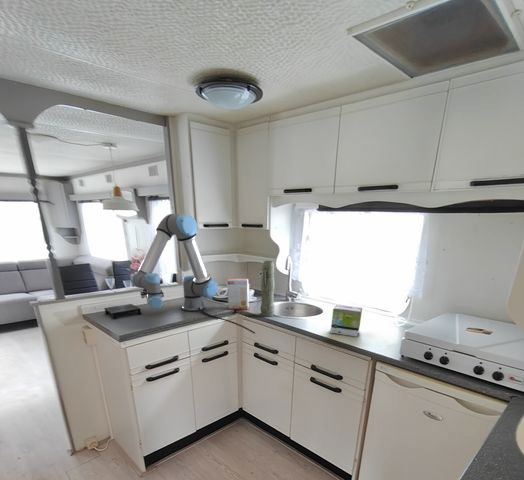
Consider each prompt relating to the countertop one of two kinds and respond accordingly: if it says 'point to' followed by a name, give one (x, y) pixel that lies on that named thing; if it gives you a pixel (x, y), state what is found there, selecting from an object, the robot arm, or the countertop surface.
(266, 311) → the thermos
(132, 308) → the black footed platform
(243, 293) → the cracker box
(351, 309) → the tea box
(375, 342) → the countertop surface
